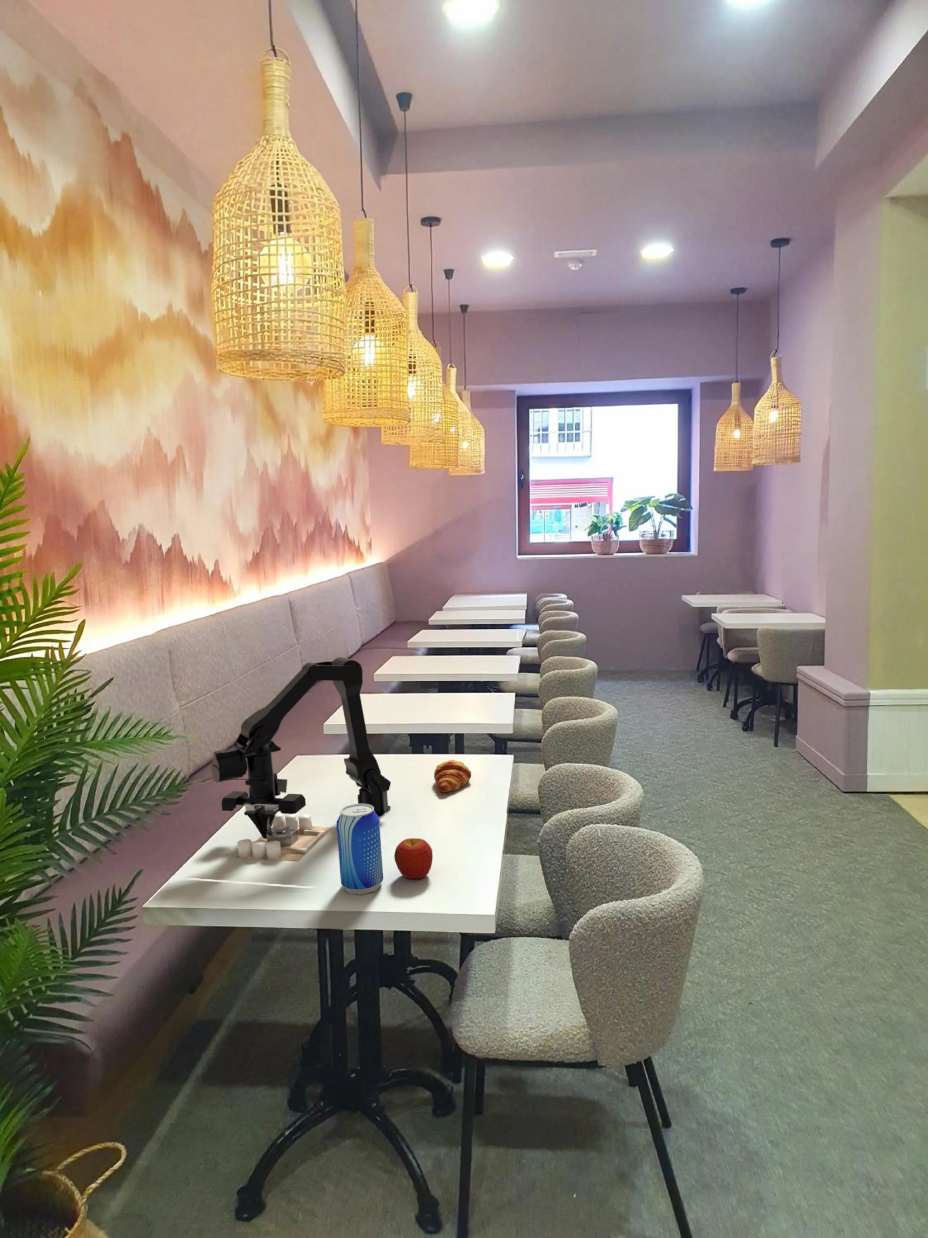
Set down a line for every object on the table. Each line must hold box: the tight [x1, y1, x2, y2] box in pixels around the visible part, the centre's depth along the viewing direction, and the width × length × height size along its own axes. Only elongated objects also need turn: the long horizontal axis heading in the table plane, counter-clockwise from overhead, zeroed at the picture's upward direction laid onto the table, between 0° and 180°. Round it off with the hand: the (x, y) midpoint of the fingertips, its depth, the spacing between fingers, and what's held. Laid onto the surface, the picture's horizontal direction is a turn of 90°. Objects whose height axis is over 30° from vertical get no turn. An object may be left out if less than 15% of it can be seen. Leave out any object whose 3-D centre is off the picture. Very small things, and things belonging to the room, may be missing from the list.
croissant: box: [433, 759, 472, 793], centre depth 223 cm, size 21×10×8 cm, turn 169°
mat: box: [235, 824, 334, 862], centre depth 187 cm, size 15×19×1 cm
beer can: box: [335, 803, 384, 895], centre depth 163 cm, size 8×8×16 cm
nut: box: [267, 826, 298, 847], centre depth 187 cm, size 6×7×2 cm
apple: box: [394, 837, 434, 880], centre depth 167 cm, size 8×8×8 cm
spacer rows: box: [236, 812, 313, 861], centre depth 188 cm, size 10×19×3 cm, turn 166°
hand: (266, 838), depth 188 cm, fingers closed
